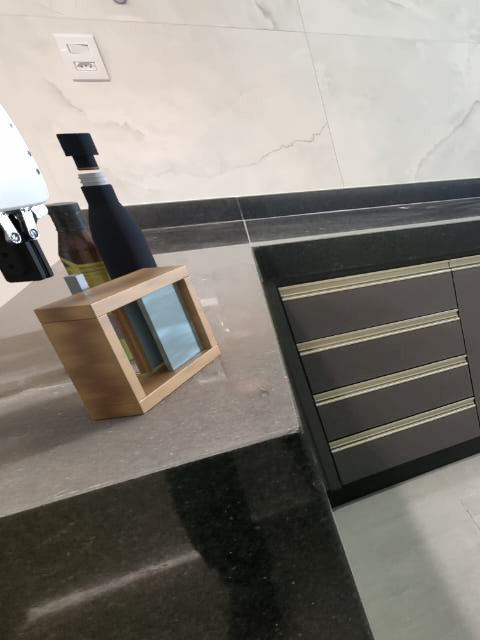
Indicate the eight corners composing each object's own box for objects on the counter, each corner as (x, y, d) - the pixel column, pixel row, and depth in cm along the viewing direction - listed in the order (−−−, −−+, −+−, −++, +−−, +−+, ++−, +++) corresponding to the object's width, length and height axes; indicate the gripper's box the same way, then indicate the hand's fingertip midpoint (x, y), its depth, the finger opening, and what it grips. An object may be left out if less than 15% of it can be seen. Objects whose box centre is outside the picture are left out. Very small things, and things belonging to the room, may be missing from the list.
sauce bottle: (101, 315, 96) (46, 202, 88) (144, 309, 98) (94, 198, 90) (84, 325, 91) (24, 207, 82) (130, 319, 93) (76, 203, 85)
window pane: (113, 377, 65) (62, 277, 60) (150, 354, 72) (107, 262, 66) (149, 373, 66) (102, 273, 60) (182, 350, 72) (143, 259, 67)
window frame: (92, 420, 59) (32, 309, 53) (181, 358, 75) (142, 268, 69) (144, 414, 60) (90, 304, 54) (221, 353, 76) (185, 264, 70)
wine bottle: (145, 323, 90) (59, 133, 78) (121, 321, 92) (33, 134, 80) (185, 311, 96) (110, 132, 83) (161, 309, 98) (85, 133, 85)
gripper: (-43, 90, 54) (44, 266, 62) (-222, 78, 41) (-83, 304, 48) (44, 89, 56) (119, 261, 63) (-101, 78, 42) (16, 297, 50)
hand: (31, 279), depth 56 cm, fingers closed
